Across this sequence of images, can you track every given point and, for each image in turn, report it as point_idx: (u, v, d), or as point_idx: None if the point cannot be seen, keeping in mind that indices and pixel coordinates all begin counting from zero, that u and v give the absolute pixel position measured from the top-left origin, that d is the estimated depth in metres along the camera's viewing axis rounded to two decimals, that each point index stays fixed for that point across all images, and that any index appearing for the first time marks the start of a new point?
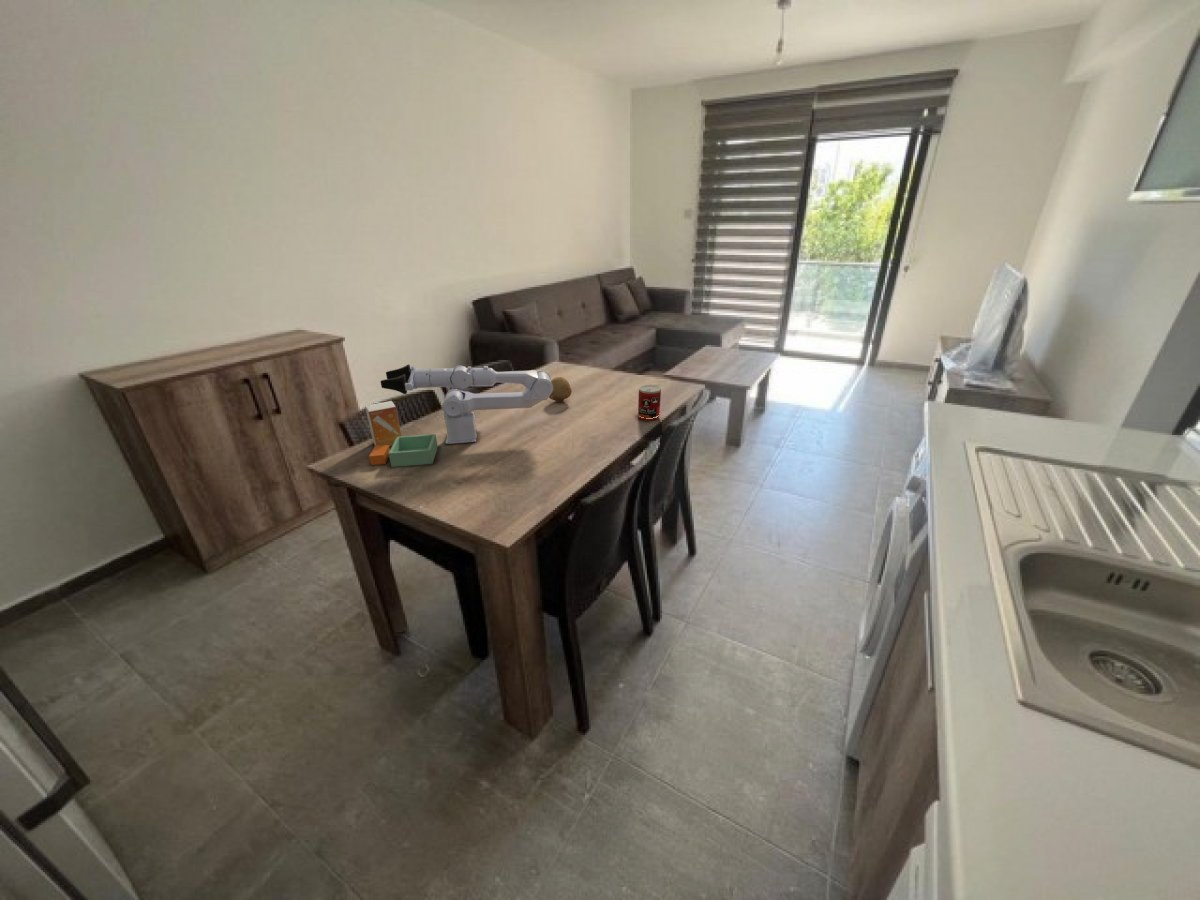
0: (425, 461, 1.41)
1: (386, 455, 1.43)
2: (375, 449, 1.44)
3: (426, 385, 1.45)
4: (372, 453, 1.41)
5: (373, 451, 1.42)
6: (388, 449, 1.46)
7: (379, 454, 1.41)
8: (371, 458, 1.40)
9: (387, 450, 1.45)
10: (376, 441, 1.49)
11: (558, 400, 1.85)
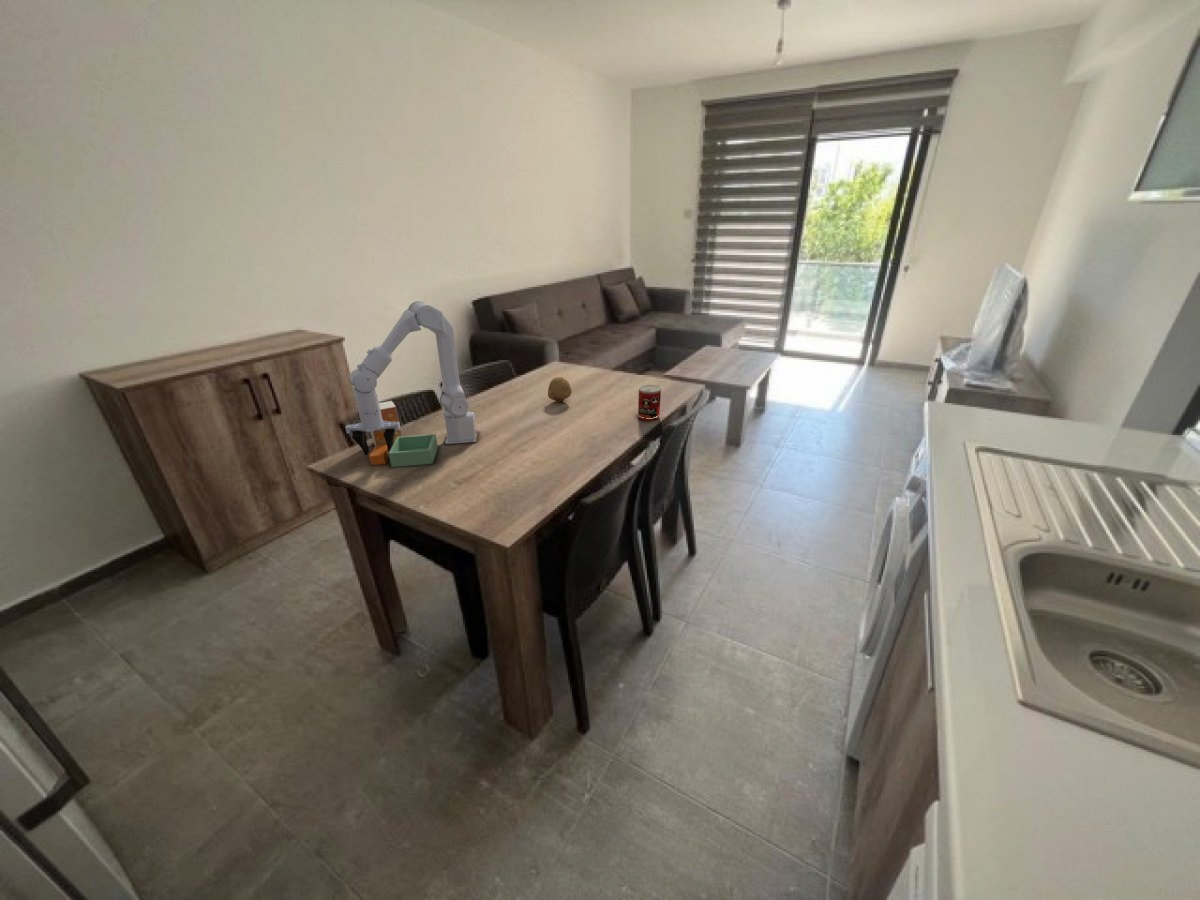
0: (425, 461, 1.41)
1: (386, 455, 1.43)
2: (375, 449, 1.44)
3: None
4: (372, 453, 1.41)
5: (373, 451, 1.42)
6: None
7: (379, 454, 1.41)
8: (371, 458, 1.40)
9: (387, 450, 1.45)
10: (376, 441, 1.49)
11: (558, 400, 1.85)
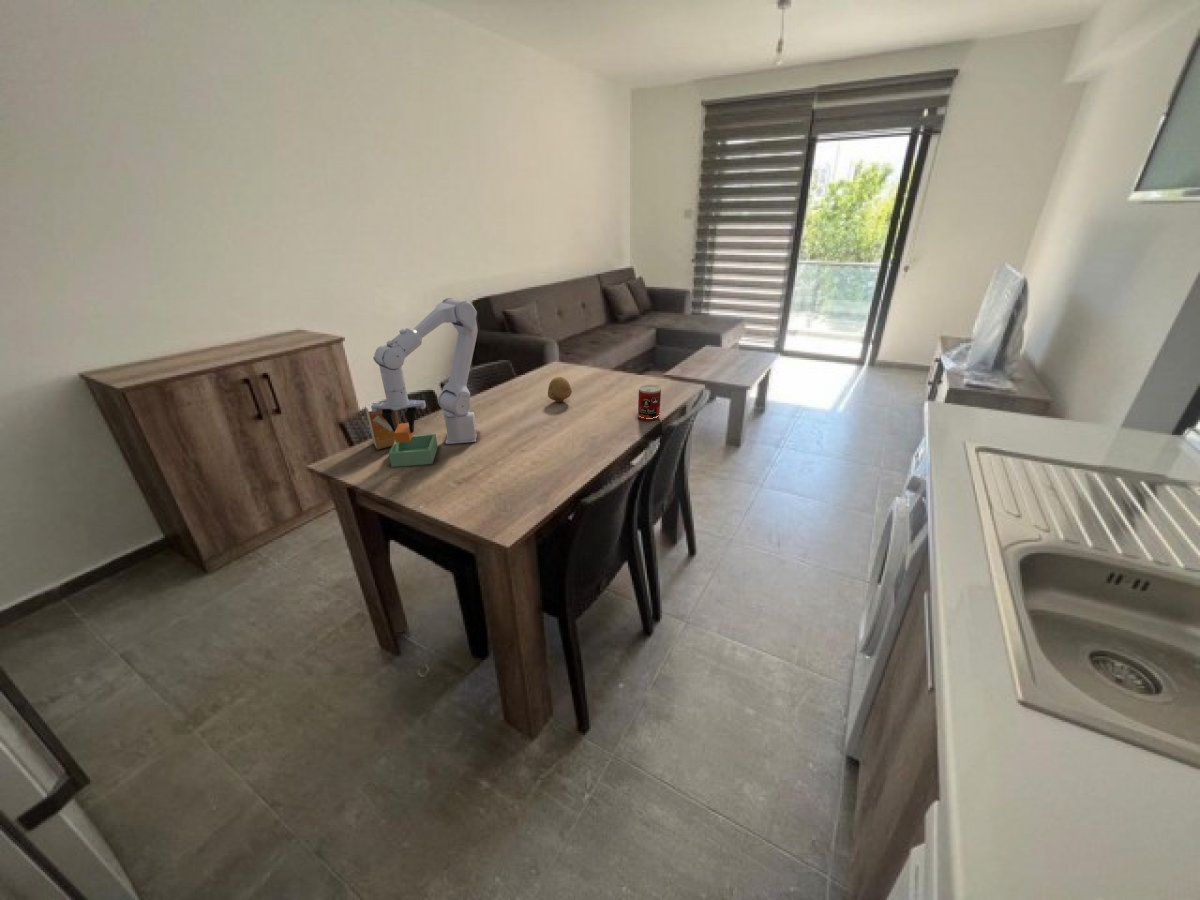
0: (425, 461, 1.41)
1: (410, 432, 1.41)
2: (399, 426, 1.42)
3: None
4: (397, 430, 1.39)
5: (397, 428, 1.41)
6: None
7: (404, 431, 1.39)
8: (396, 435, 1.38)
9: None
10: (376, 441, 1.49)
11: (558, 400, 1.85)
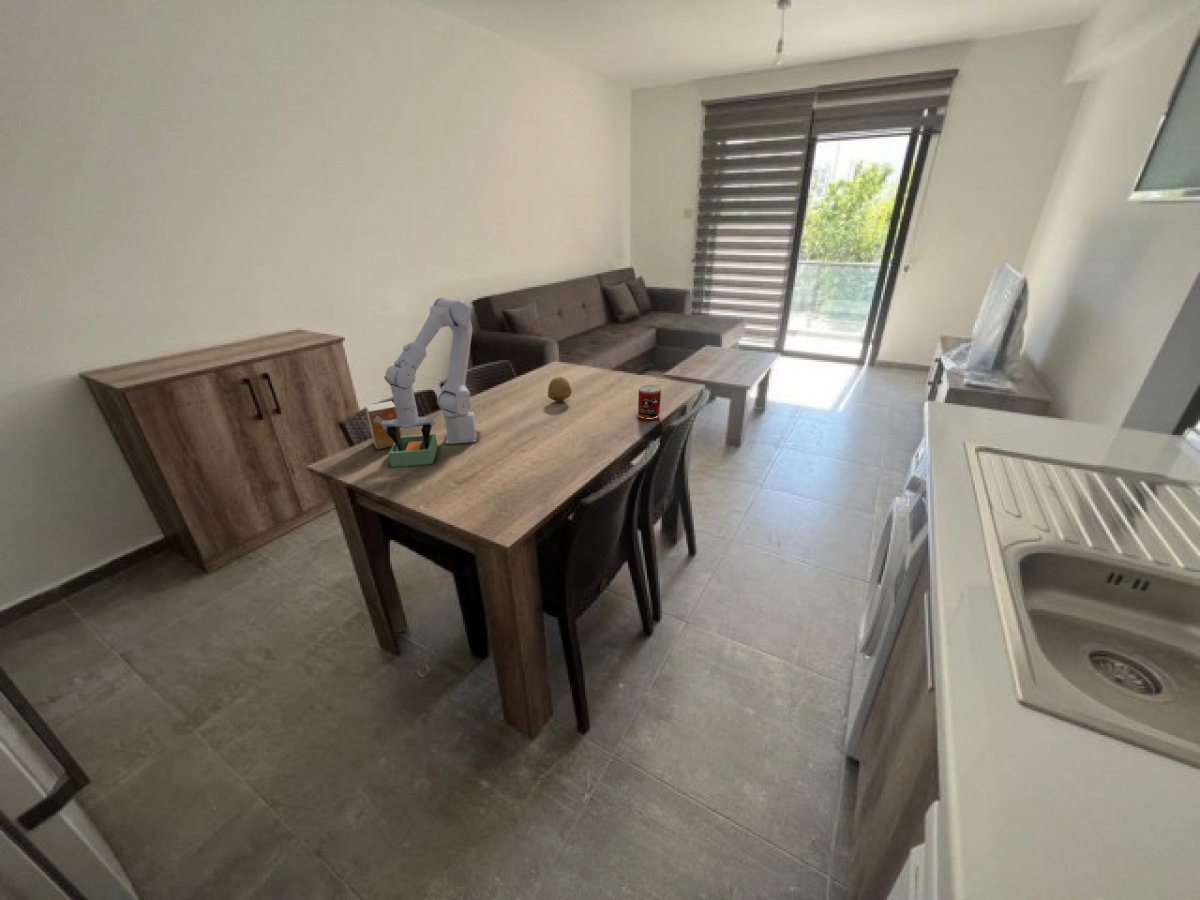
0: (425, 461, 1.41)
1: None
2: (409, 445, 1.45)
3: None
4: (407, 449, 1.42)
5: (408, 447, 1.44)
6: (422, 445, 1.47)
7: None
8: None
9: (421, 446, 1.46)
10: (376, 441, 1.49)
11: (558, 400, 1.85)
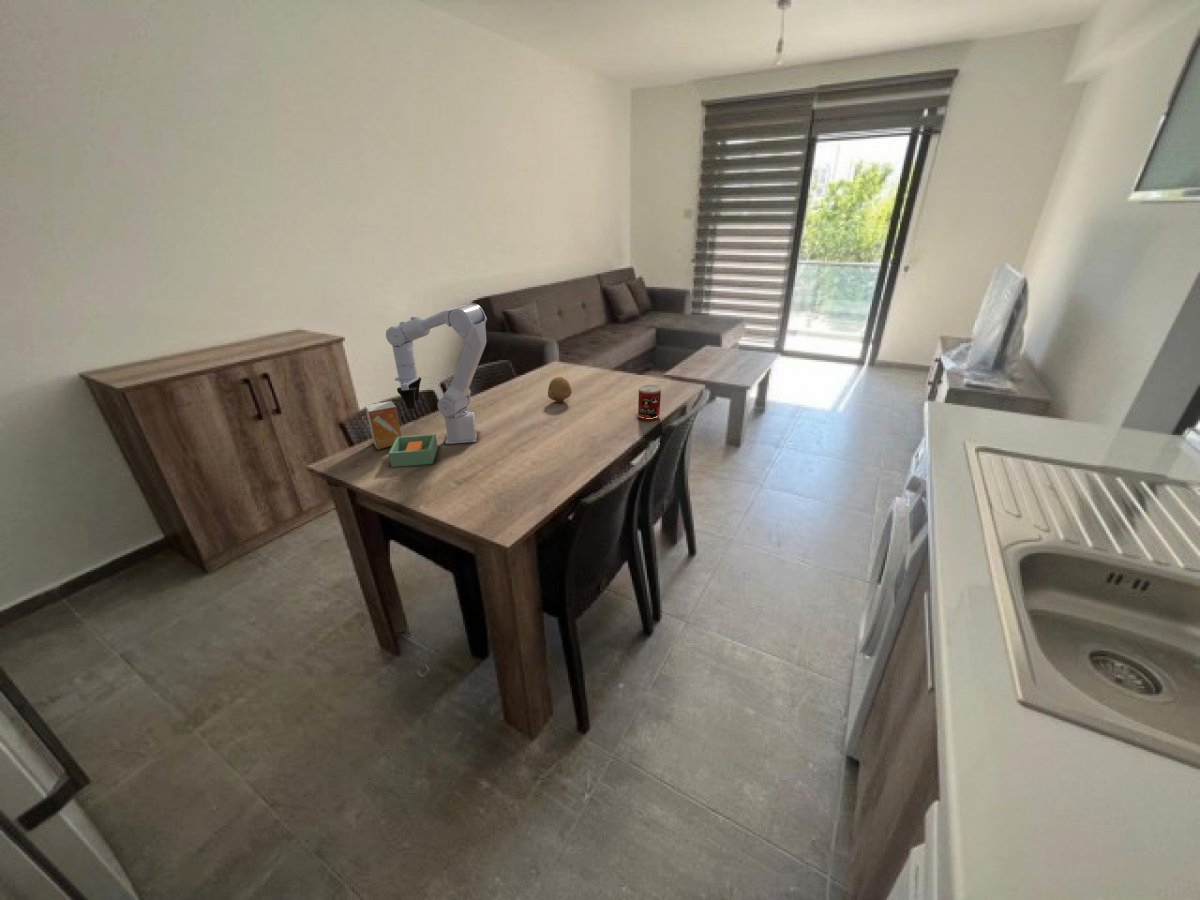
0: (425, 461, 1.41)
1: None
2: (409, 445, 1.45)
3: (409, 369, 1.49)
4: (407, 449, 1.42)
5: (408, 447, 1.44)
6: (422, 445, 1.47)
7: None
8: None
9: (421, 446, 1.46)
10: (376, 441, 1.49)
11: (558, 400, 1.85)
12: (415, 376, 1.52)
